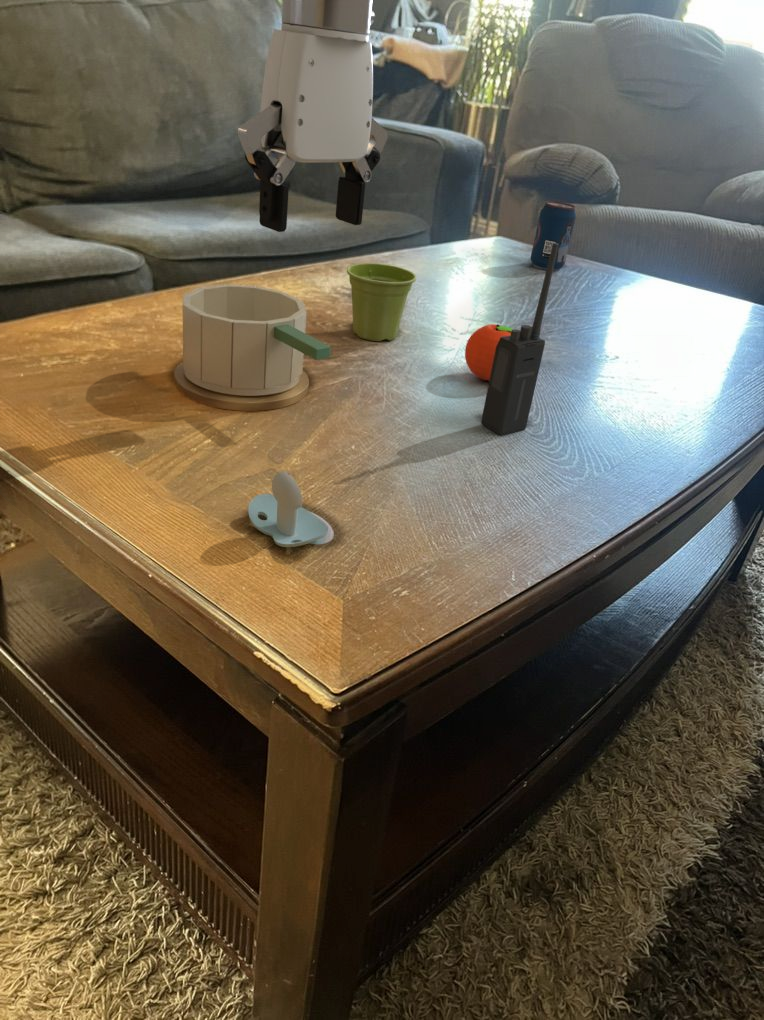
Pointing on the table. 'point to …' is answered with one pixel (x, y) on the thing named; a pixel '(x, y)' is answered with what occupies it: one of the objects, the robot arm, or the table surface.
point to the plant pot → (378, 299)
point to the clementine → (484, 349)
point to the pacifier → (288, 515)
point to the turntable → (236, 400)
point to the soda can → (553, 234)
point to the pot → (245, 339)
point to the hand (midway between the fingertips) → (312, 225)
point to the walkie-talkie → (516, 370)
